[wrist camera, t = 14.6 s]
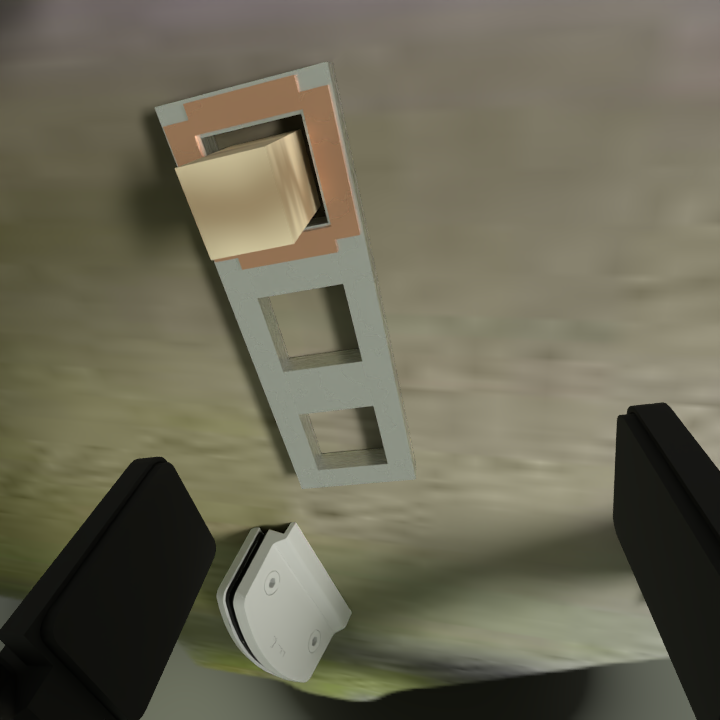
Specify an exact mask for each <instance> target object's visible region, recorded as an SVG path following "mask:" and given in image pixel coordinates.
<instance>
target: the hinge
mask: <svg viewBox="0 0 720 720" xmlns="http://www.w3.org/2000/svg"><path fill="white" fill-rule="evenodd" d="M217 602H218V605H219V609H220V612H221V615H222V618H223V621H224V623H225V625H226V628H227V630H228V632H229V634H230V636H231V637H232V639H233V641H234V642H235V644H236V645H237V647H238V648H239V649H240V650H241V651H242V652H243V654H244V655H245V656H246V657H247V658H249V659H250V660H251V661H252V662H253V663H254V664H256V665H257V666H258V667H260V668H261V669H263V670H264V671H266V672H268V673H270V674H273V675H275V676H278V677H280V678H283V679H286V680H290V681H296V682H307V681H308V680H309V679H310V677H311V675H312V674H313V672H314V670H315V668H316V666H317V664H318V662H319V661H320V659H321V657H322V655H323V653H324V651H325V649H326V647H327V646H328V644H329V642H330V640H331V638H332V636H333V635H334V634H335V633H336V632H338V631H340V630H342V629H344V628H345V627H346V625H347V623H348V620H349V618H350V616H351V614H352V612H351V610H350V609H349V607H348V605H347V604H346V602H345V601H344V599H343V597H342V596H341V594H340V593H339V591H338V589H337V588H336V586H335V584H334V583H333V581H332V580H331V578H330V576H329V575H328V573H327V572H326V570H325V568H324V567H323V565H322V564H321V562H320V560H319V559H318V557H317V556H316V554H315V552H314V551H313V549H312V547H311V546H310V544H309V543H308V541H307V539H306V538H305V536H304V535H303V533H302V531H301V530H300V528H299V527H298V525H297V523H296V522H291V523H290V525H289V527H288V528H287V530H286V531H285V533H284V534H283V533H279V532H276V531H273V530H270V529H269V530H268V532H267V533H265V535H264V533H263V532H262V531H261V529H260V528H253V529H251V530H250V532H249V534H248V536H247V538H246V539H245V541H244V543H243V545H242V547H241V548H240V550H239V552H238V554H237V555H236V557H235V559H234V561H233V563H232V564H231V566H230V568H229V570H228V572H227V573H226V575H225V577H224V579H223V581H222V582H221V584H220V586H219V588H218V591H217Z"/></svg>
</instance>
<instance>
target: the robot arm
mask: <svg viewBox="0 0 720 720" xmlns="http://www.w3.org/2000/svg"><path fill="white" fill-rule="evenodd" d="M613 521H614V527H615V530H616V534H617V536H618V539H619V541H620V543H621V546H622V548H623V550H624V553H625V555H626V557H627V560H628V562H629V564H630V566H631V569H632V571H633V573H634V576H635V578H636V580H637V583H638V585H639V587H640V590H641V592H642V594H643V596H644V599H645V601H646V603H647V606H648V608H649V610H650V613H651V615H652V617H653V620H654V622H655V624H656V626H657V629H658V631H659V633H660V636H661V638H662V640H663V643H664V645H665V647H666V650H667V652H668V654H669V657H670V659H671V661H672V663H673V666H674V668H675V670H676V673H677V675H678V677H679V680H680V682H681V684H682V687H683V689H684V691H685V693H686V696H687V698H688V700H689V703H690V705H691V707H692V710H693V712H694V714H695V717H696V719H697V720H720V471H719V470H718V468H717V467H716V466H715V464H714V463H713V462H712V461H711V459H710V458H709V457H708V455H707V454H706V453H705V451H704V450H703V449H702V448H701V446H700V445H699V444H698V442H697V441H696V440H695V439H694V437H693V436H692V435H691V433H690V432H689V431H688V430H687V428H686V427H685V426H684V424H683V423H682V422H681V421H680V419H679V418H678V417H677V415H676V414H675V413H674V411H673V410H672V409H671V408H670V406H668V405H667V404H666V403H654V404H645V405H636V406H630V407H629V408H628V410H627V414H626V415H619V416H618V418H617V432H616V456H615V480H614V503H613ZM215 552H216V544H215V541H214V538H213V537H212V535H211V533H210V531H209V529H208V528H207V526H206V524H205V522H204V520H203V519H202V517H201V515H200V513H199V511H198V510H197V508H196V506H195V504H194V502H193V500H192V499H191V497H190V495H189V493H188V491H187V490H186V488H185V486H184V484H183V482H182V481H181V479H180V477H179V475H178V473H177V472H176V470H175V468H174V466H173V465H172V464H171V463H169V462H167V461H166V460H165V459H164V458H163V457H151V458H141V459H136V460H134V461H133V462H132V463H131V464H130V465H129V466H128V467H127V469H126V470H125V471H124V472H123V474H122V475H121V476H120V478H119V479H118V480H117V481H116V483H115V484H114V485H113V486H112V488H111V489H110V490H109V492H108V493H107V494H106V495H105V497H104V498H103V499H102V501H101V502H100V503H99V504H98V506H97V507H96V508H95V509H94V511H93V512H92V513H91V515H90V516H89V517H88V518H87V520H86V521H85V522H84V523H83V525H82V526H81V527H80V529H79V530H78V531H77V532H76V534H75V535H74V536H73V538H72V539H71V540H70V541H69V543H68V544H67V545H66V546H65V548H64V549H63V550H62V552H61V553H60V554H59V555H58V557H57V558H56V559H55V560H54V562H53V563H52V564H51V566H50V567H49V568H48V569H47V571H46V572H45V573H44V574H43V576H42V577H41V578H40V580H39V581H38V582H37V583H36V585H35V586H34V587H33V589H32V590H31V591H30V592H29V594H28V595H27V596H26V597H25V599H24V600H23V601H22V603H21V604H20V605H19V606H18V608H17V609H16V610H15V611H14V613H13V614H12V615H11V617H10V618H9V619H8V621H7V622H6V623H5V624H4V626H3V627H2V628H1V629H0V640H1V641H2V642H3V643H4V644H5V647H4V648H3V649H2V651H1V652H0V720H139V719H140V718H141V717H142V716H143V714H144V712H145V710H146V709H147V706H148V704H149V702H150V700H151V697H152V695H153V693H154V691H155V689H156V686H157V684H158V682H159V680H160V677H161V675H162V673H163V671H164V668H165V666H166V664H167V662H168V660H169V657H170V655H171V653H172V651H173V648H174V646H175V644H176V642H177V639H178V637H179V635H180V633H181V630H182V628H183V626H184V624H185V622H186V619H187V617H188V615H189V613H190V610H191V608H192V606H193V604H194V601H195V599H196V597H197V595H198V593H199V590H200V588H201V586H202V584H203V581H204V579H205V577H206V575H207V572H208V570H209V568H210V566H211V564H212V561H213V559H214V556H215Z"/></svg>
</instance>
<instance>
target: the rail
mask: <svg viewBox="0 0 720 720" xmlns="http://www.w3.org/2000/svg"><path fill="white" fill-rule="evenodd" d="M154 108H155V110H156V113H157V116H158V118H159V121H160V123H161V126H162V129H163V131H164V134H165V136H166V139H167V141H168V144H169V147H170V149H171V152H172V154H173V157H174V159H175V162H176V165H177V167H179V166H182V165H184V164H187V163H189V162H192V161H194V160H197V159H200V158H202V157H205V156H207V155H210V154H212V153H215V152H217V151H219V149H218V146H217V143H216V140H215V137H214V135H216V134H221V133H225V132H229V131H233V130H237V129H241V128H245V127H249V126H253V125H257V124H261V123H265V122H269V121H273V120H277V119H282V118H286V117H290V116H294V115H298V114H301V115H302V119H303V123H304V127H305V131H306V135H307V139H308V144H309V148H310V152H311V156H312V160H313V164H314V168H315V172H316V176H317V180H318V184H319V188H320V192H321V196H322V200H323V204H324V208H325V212H326V216H323V217H318V218H313V219H311V220H310V221H309V223H308V224H307V226H306V227H305V229H304V230H303V232H302V233H301V235H300V236H299V237H298V239H297V240H296V242H295V243H294V244H291V245H286V246H281V247H276V248H271V249H266V250H261V251H255V252H250V253H245V254H240V255H235V256H230V257H225V258H220V259H215V260H214V263H215V265H216V268H217V270H218V273H219V276H220V278H221V281H222V283H223V286H224V289H225V291H226V294H227V296H228V299H229V301H230V304H231V307H232V309H233V312H234V314H235V317H236V320H237V322H238V325H239V327H240V330H241V332H242V335H243V338H244V340H245V343H246V345H247V348H248V351H249V353H250V356H251V358H252V361H253V363H254V366H255V369H256V371H257V374H258V376H259V379H260V382H261V384H262V387H263V389H264V392H265V394H266V397H267V400H268V402H269V405H270V407H271V410H272V412H273V415H274V418H275V420H276V423H277V425H278V428H279V431H280V433H281V436H282V438H283V441H284V443H285V446H286V449H287V451H288V454H289V456H290V459H291V462H292V464H293V467H294V469H295V472H296V474H297V477H298V480H299V482H300V485H301V487H302V489H306V488H318V487H330V486H342V485H353V484H365V483H377V482H389V481H401V480H413V479H416V461H415V457H414V452H413V447H412V442H411V437H410V432H409V428H408V423H407V418H406V413H405V408H404V403H403V399H402V394H401V389H400V384H399V379H398V374H397V370H396V365H395V360H394V355H393V350H392V345H391V341H390V336H389V331H388V326H387V321H386V316H385V312H384V307H383V302H382V297H381V292H380V287H379V283H378V278H377V273H376V268H375V263H374V258H373V254H372V249H371V244H370V239H369V234H368V229H367V225H366V220H365V215H364V210H363V205H362V200H361V196H360V191H359V186H358V181H357V176H356V171H355V167H354V162H353V157H352V152H351V147H350V142H349V138H348V133H347V128H346V123H345V118H344V113H343V109H342V104H341V99H340V94H339V89H338V84H337V80H336V75H335V70H334V65H333V62H324V63H320V64H316V65H313V66H309V67H305V68H301V69H297V70H294V71H290V72H286V73H282V74H279V75H275V76H271V77H267V78H264V79H260V80H256V81H252V82H248V83H245V84H241V85H237V86H233V87H230V88H226V89H222V90H218V91H215V92H211V93H207V94H203V95H199V96H196V97H192V98H188V99H184V100H181V101H177V102H173V103H169V104H165V105H162V106H158V107H154ZM339 284H343V285H344V289H345V293H346V297H347V301H348V305H349V309H350V313H351V317H352V321H353V325H354V329H355V333H356V337H357V341H358V345H359V348H357V349H350V350H343V351H336V352H329V353H322V354H315V355H308V356H301V357H294V358H289V355H288V352H287V349H286V346H285V344H284V341H283V338H282V335H281V332H280V329H279V326H278V323H277V320H276V317H275V314H274V311H273V308H272V305H271V302H270V299H269V296H274V295H280V294H286V293H292V292H298V291H304V290H310V289H315V288H321V287H327V286H333V285H339ZM368 406H374V410H375V414H376V418H377V422H378V426H379V430H380V434H381V438H382V442H383V446H384V448H376V449H366V450H356V451H346V452H336V453H326V454H322V453H321V450H320V447H319V444H318V441H317V438H316V435H315V432H314V429H313V426H312V423H311V420H310V417H309V414H308V413H316V412H325V411H334V410H342V409H351V408H359V407H368Z"/></svg>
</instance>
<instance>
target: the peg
mask: <svg viewBox="0 0 720 720" xmlns="http://www.w3.org/2000/svg"><path fill="white" fill-rule="evenodd" d="M175 171H176V173H177V176H178V178H179V181H180V183H181V186H182V188H183V191H184V193H185V196H186V198H187V201H188V203H189V206H190V208H191V211H192V213H193V216H194V219H195V221H196V224H197V226H198V229H199V231H200V234H201V236H202V239H203V241H204V244H205V246H206V249H207V251H208V254H209V256H210V259H211V260H215V259H220V258H225V257H230V256H235V255H240V254H245V253H250V252H255V251H261V250H266V249H271V248H276V247H281V246H286V245H291V244H294V243H295V242H296V240H297V239H298V237H299V236H300V235H301V233H302V232H303V230H304V229H305V227H306V226H307V224H308V223H309V221H310V220H311V219H312V217H313V216H314V214H315V213H316V211H317V210H318V208H319V207H320V206H321V205H320V201H319V197H318V193H317V189H316V185H315V181H314V177H313V173H312V170H311V166H310V162H309V158H308V154H307V150H306V146H305V142H304V138H303V135H302V131H301V129H298V130H294V131H290V132H286V133H282V134H278V135H274V136H270V137H266V138H262V139H257V140H253V141H249V142H245V143H241V144H237V145H233V146H230V147H227V148H225V149H222V150H220V151H217V152H215V153H212V154H210V155H207V156H205V157H202V158H200V159H197V160H194V161H192V162H189V163H187V164H184V165H182V166H179V167H177V168H175Z"/></svg>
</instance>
